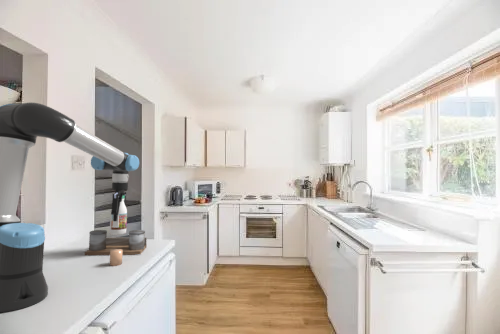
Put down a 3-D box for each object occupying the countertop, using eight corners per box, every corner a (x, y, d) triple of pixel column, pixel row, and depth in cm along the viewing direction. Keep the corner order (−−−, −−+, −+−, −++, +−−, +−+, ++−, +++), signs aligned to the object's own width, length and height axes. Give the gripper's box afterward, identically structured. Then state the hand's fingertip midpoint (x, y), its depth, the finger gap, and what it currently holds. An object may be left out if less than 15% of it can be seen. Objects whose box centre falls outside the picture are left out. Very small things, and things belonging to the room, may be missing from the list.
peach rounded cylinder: (119, 265, 116) (120, 252, 116) (107, 266, 115) (108, 252, 115) (123, 262, 121) (124, 248, 121) (111, 262, 120) (112, 249, 120)
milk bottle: (106, 234, 134) (107, 195, 135) (117, 231, 141) (119, 194, 142) (118, 236, 132) (120, 196, 132) (129, 233, 139) (131, 195, 140)
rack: (141, 254, 132) (141, 234, 133) (83, 255, 128) (84, 234, 129) (147, 247, 145) (148, 228, 145) (95, 247, 141) (96, 228, 141)
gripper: (121, 182, 128) (119, 229, 127) (133, 181, 148) (131, 222, 147) (104, 182, 127) (102, 230, 126) (119, 181, 147) (117, 222, 146)
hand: (118, 225), depth 137 cm, fingers closed on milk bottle, 8 cm apart
